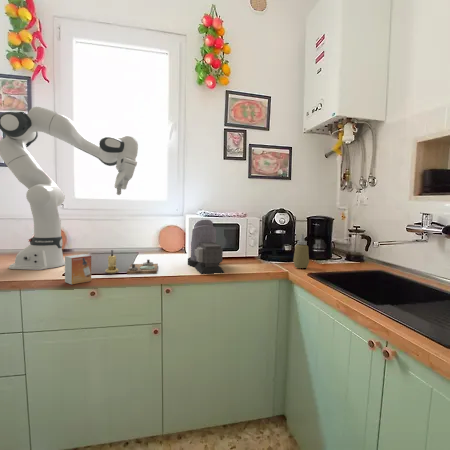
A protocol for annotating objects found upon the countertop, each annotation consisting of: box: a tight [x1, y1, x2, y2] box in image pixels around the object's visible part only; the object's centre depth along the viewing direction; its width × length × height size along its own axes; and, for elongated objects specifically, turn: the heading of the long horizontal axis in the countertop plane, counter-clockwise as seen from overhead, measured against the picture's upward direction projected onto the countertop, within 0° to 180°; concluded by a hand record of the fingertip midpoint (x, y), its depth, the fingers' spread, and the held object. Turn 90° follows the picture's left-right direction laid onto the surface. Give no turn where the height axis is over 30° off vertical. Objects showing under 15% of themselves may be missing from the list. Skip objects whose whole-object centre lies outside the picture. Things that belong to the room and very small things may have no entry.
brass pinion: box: [105, 249, 120, 274], centre depth 129 cm, size 6×6×10 cm
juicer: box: [187, 219, 226, 275], centre depth 145 cm, size 30×16×24 cm, turn 18°
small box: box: [64, 253, 92, 285], centre depth 112 cm, size 8×6×10 cm
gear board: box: [126, 259, 159, 275], centre depth 135 cm, size 13×15×4 cm
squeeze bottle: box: [292, 233, 310, 269], centre depth 149 cm, size 8×8×18 cm
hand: (121, 191), depth 138 cm, fingers open, 8 cm apart
